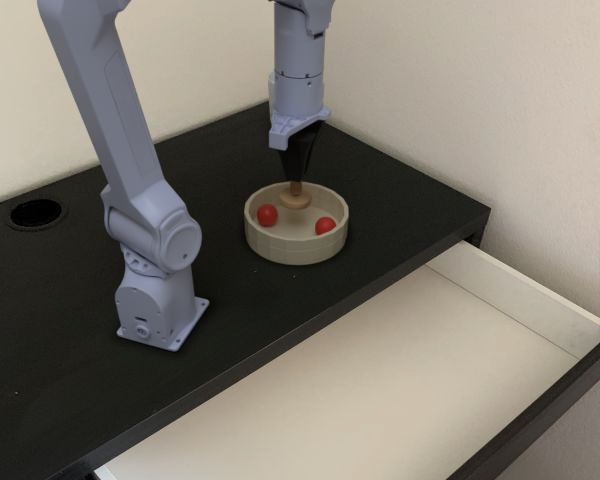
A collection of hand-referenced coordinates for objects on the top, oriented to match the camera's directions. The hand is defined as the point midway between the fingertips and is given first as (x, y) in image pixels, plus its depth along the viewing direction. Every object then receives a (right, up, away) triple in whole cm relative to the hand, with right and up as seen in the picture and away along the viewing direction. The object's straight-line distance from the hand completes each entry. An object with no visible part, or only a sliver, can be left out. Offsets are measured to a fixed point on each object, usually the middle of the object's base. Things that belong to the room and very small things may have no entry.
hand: (296, 175), depth 87 cm
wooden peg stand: (0, -2, +3) cm, 4 cm away
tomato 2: (+4, -6, +4) cm, 8 cm away
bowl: (0, -6, +7) cm, 9 cm away
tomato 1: (-4, -3, +6) cm, 8 cm away
